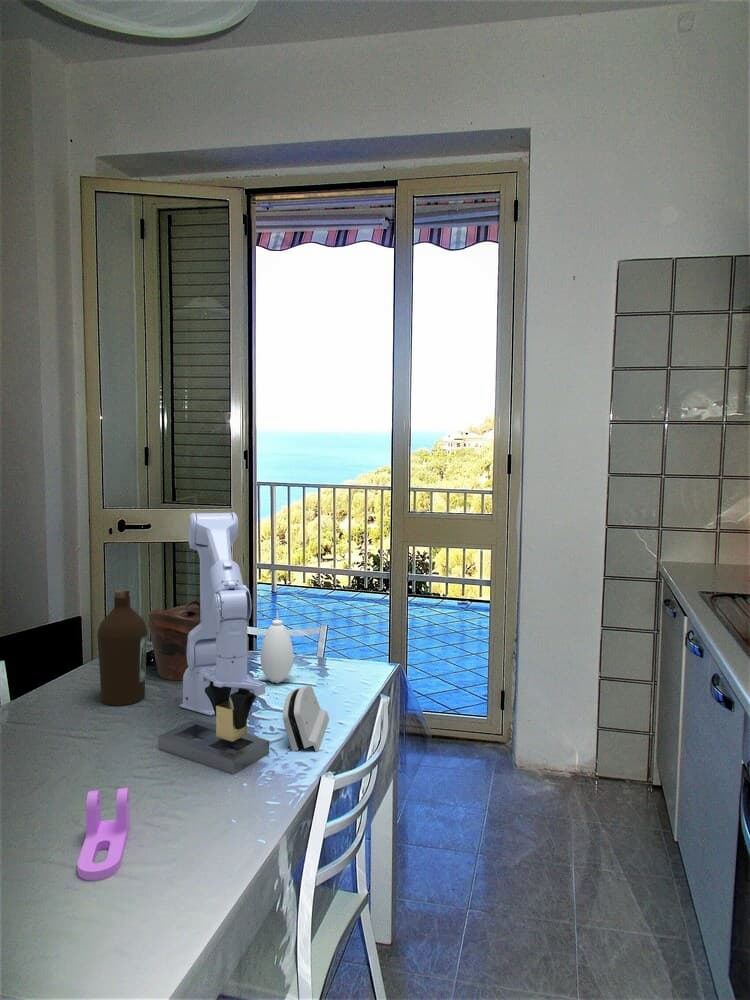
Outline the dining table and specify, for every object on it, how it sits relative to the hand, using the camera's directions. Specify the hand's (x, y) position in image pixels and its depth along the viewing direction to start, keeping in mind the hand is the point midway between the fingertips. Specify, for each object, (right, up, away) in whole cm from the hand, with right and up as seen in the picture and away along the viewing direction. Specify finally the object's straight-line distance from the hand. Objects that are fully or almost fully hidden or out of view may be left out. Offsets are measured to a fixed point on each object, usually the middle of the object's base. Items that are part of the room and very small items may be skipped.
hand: (231, 724), depth 131 cm
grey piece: (+13, -6, +12) cm, 18 cm away
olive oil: (-31, -3, +29) cm, 42 cm away
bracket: (-12, -9, -30) cm, 34 cm away
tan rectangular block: (0, -2, 0) cm, 2 cm away
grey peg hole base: (-4, -6, +3) cm, 8 cm away
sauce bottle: (+3, -3, +42) cm, 42 cm away
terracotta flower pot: (-22, -2, +48) cm, 52 cm away
